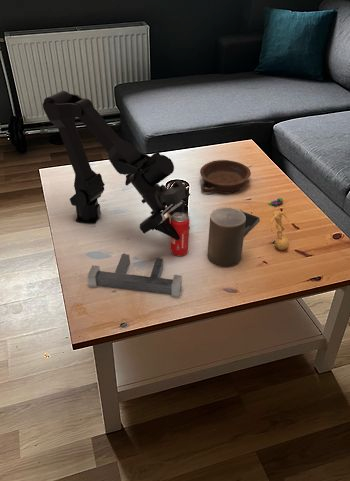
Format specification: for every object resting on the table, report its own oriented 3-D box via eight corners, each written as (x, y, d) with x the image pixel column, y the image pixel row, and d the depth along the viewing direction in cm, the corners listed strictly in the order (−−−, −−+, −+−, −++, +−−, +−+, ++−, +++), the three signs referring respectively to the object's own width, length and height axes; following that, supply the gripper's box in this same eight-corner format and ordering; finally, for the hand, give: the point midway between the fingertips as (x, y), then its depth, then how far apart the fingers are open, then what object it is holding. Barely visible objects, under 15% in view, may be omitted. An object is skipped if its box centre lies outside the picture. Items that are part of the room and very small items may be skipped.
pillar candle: (231, 271, 131) (237, 227, 122) (200, 259, 135) (203, 215, 126) (247, 253, 138) (253, 209, 129) (217, 242, 142) (220, 199, 133)
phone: (214, 232, 145) (239, 210, 154) (214, 235, 145) (238, 212, 155) (237, 241, 141) (261, 218, 151) (237, 244, 142) (260, 221, 151)
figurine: (278, 257, 136) (284, 223, 129) (260, 248, 139) (265, 214, 132) (294, 245, 141) (301, 211, 134) (277, 236, 144) (282, 202, 137)
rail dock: (89, 286, 126) (87, 275, 124) (101, 259, 135) (100, 248, 133) (179, 297, 123) (179, 286, 121) (185, 269, 132) (186, 258, 130)
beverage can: (186, 258, 136) (187, 223, 129) (168, 255, 137) (168, 220, 129) (189, 247, 140) (190, 212, 133) (172, 244, 141) (172, 210, 133)
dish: (262, 180, 171) (264, 168, 168) (225, 205, 158) (226, 192, 155) (223, 164, 181) (224, 152, 178) (185, 187, 167) (185, 174, 164)
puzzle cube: (277, 201, 161) (278, 195, 159) (282, 205, 159) (283, 199, 157) (266, 204, 159) (267, 198, 158) (272, 208, 157) (273, 202, 156)
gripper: (147, 192, 119) (185, 242, 122) (184, 162, 132) (218, 207, 134) (123, 210, 127) (159, 256, 129) (160, 179, 140) (192, 222, 142)
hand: (183, 234), depth 134 cm, fingers closed on beverage can, 5 cm apart
